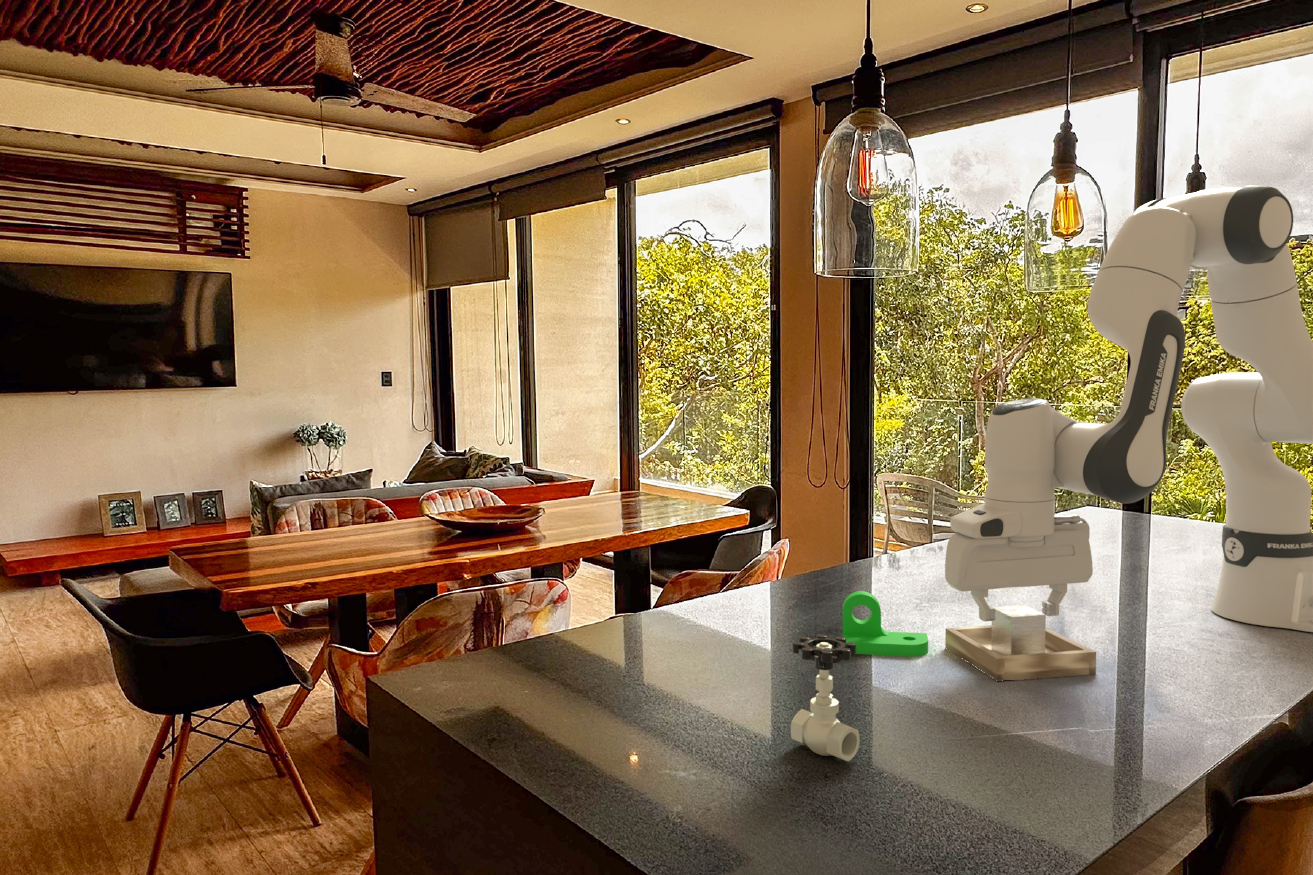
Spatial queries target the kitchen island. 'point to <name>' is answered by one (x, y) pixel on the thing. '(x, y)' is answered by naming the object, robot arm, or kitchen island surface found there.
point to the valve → (825, 701)
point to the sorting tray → (1055, 662)
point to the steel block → (1018, 631)
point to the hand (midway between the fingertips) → (1019, 617)
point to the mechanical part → (878, 631)
